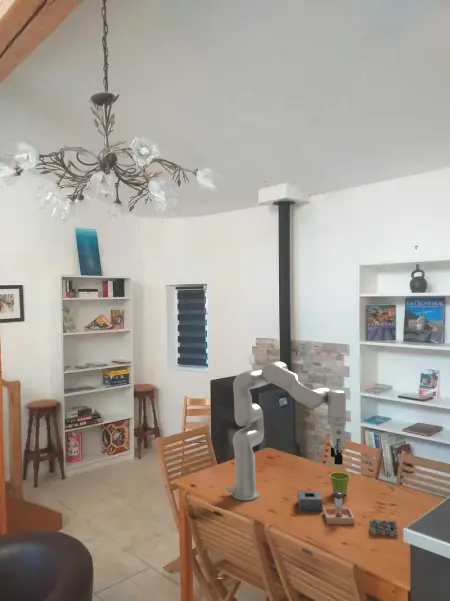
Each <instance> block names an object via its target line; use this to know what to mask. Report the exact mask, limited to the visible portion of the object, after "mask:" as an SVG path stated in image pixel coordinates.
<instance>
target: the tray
mask: <svg viewBox="0 0 450 601" xmlns="http://www.w3.org/2000/svg"><path fill="white" fill-rule="evenodd" d="M322 512H323V517H324V520H325V522H326V525H355V522H356V521H355V517H354V514H353V513H352V510H351V507H342V517H335V507H323V511H322Z"/></svg>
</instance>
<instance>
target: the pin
mask: <svg viewBox="0 0 450 601" xmlns="http://www.w3.org/2000/svg"><path fill="white" fill-rule="evenodd" d="M333 497H334V508H335V517H342V508H343V498H344V495H343V492H340V491H335V492H334V493H333Z"/></svg>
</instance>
